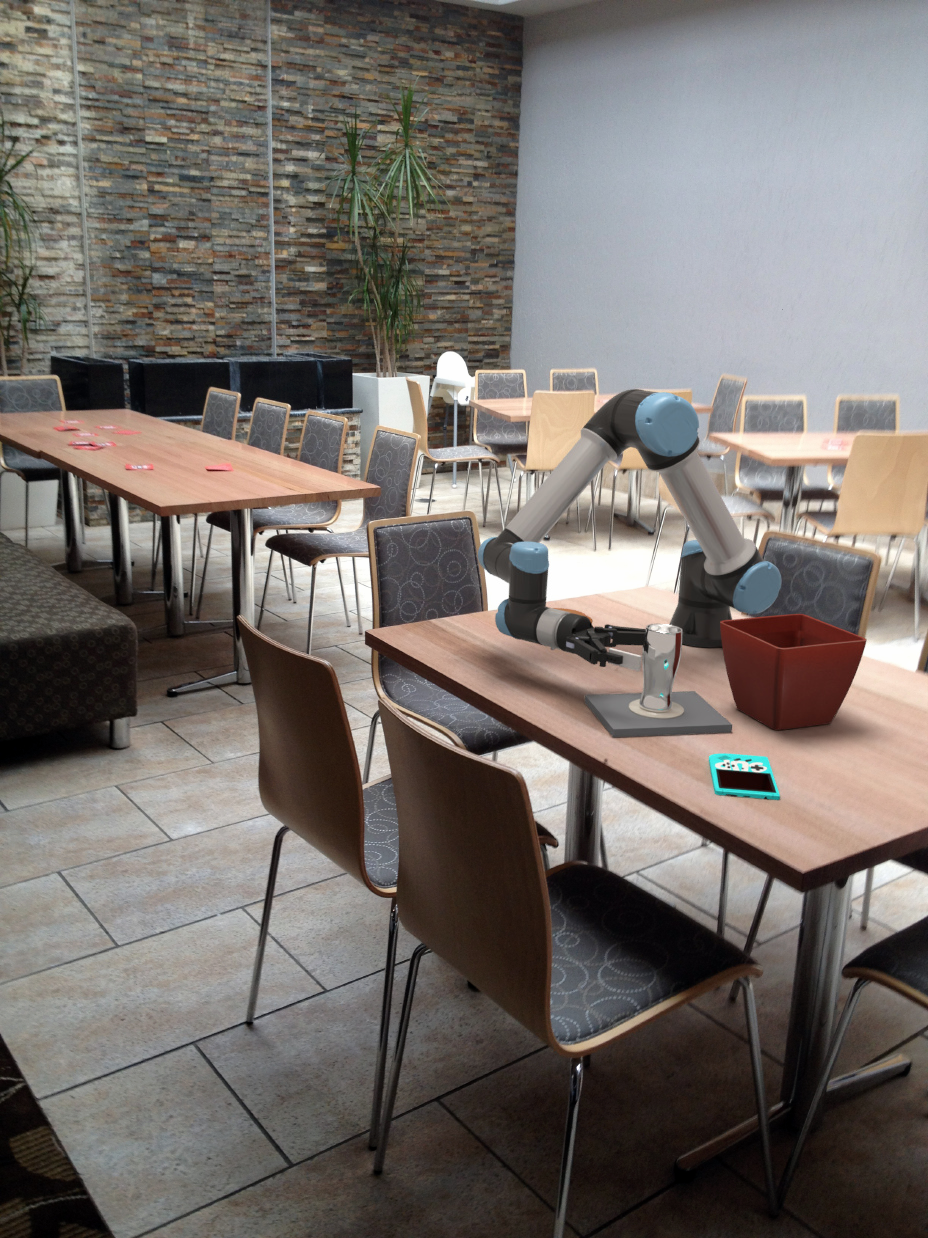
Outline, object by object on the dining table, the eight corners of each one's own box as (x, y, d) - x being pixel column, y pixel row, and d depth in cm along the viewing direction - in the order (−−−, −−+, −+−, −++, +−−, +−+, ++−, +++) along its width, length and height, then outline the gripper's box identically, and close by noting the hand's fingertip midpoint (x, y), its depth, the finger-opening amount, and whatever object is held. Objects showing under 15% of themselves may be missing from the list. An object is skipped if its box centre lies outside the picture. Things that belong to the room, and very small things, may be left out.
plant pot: (709, 704, 209) (717, 619, 205) (792, 694, 216) (802, 612, 211) (770, 740, 192) (780, 648, 187) (858, 728, 199) (870, 639, 194)
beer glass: (673, 702, 204) (682, 625, 200) (676, 714, 197) (685, 634, 194) (635, 699, 205) (644, 621, 201) (637, 711, 198) (645, 631, 194)
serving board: (693, 698, 212) (694, 689, 212) (731, 732, 195) (732, 723, 194) (584, 702, 208) (584, 693, 208) (613, 737, 191) (613, 727, 191)
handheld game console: (768, 763, 183) (769, 755, 183) (781, 803, 168) (782, 795, 168) (707, 758, 185) (708, 750, 184) (714, 797, 169) (715, 789, 169)
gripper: (601, 637, 222) (693, 660, 208) (524, 663, 204) (620, 691, 190) (603, 601, 220) (697, 622, 206) (526, 625, 202) (623, 649, 188)
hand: (660, 655), depth 198 cm, fingers open, 13 cm apart
